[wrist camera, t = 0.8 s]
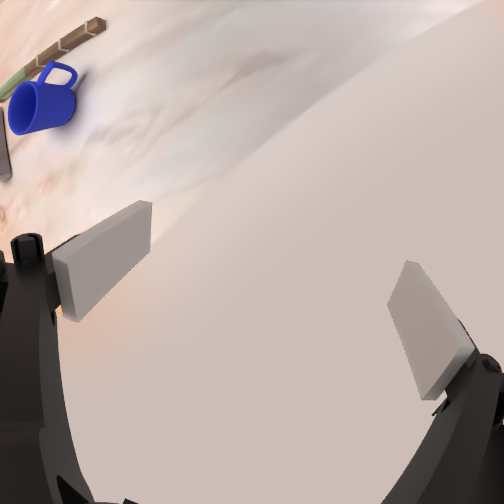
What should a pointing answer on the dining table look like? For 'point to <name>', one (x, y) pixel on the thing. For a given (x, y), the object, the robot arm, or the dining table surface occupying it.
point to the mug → (41, 103)
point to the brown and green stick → (52, 54)
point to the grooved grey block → (3, 153)
